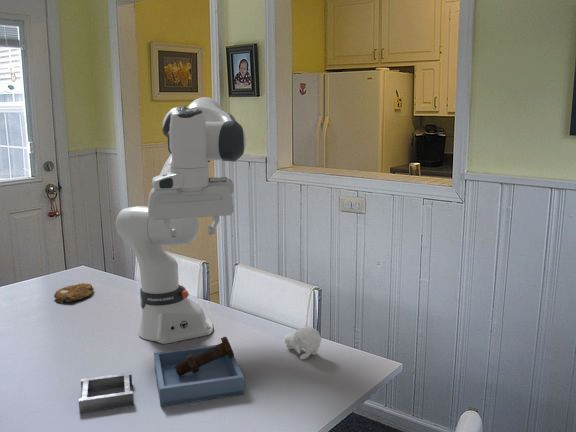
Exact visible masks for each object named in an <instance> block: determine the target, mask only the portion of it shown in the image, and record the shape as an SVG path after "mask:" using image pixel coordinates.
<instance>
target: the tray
mask: <svg viewBox="0 0 576 432" xmlns="http://www.w3.org/2000/svg"><path fill="white" fill-rule="evenodd" d="M216 345H217V344H214V345H212V344H211V345H206V346H205V345H204V346H198V347H197V346H196V347H190V348H181V349H173V350H165V351H164V350H163V351H158V352H153V362H154V363H153V366H154V373H155V379H156V380H155V381H156V386H157V387H156V388H157V392H158V399H159V405H160V408H161V407H167V406H173V405H174V406H175V405H181V404H187V403H194V402H200V401H201V402H202V401H206V400H207V401H208V400H213V399H221V398H227V397H228V398H229V397H233V396H240V395H244V394H245V377H244V374H243V372H242V370H241V367H240V366H239V363H238V361H237V360H236V357H235V356H234V357H232V358H230V359H229V357H228V355H226V356H223V357H221V358H220V357H219V358H218V359H216V360H213V361H211V362H210V363H207V364H205V365H202V366H200V367H199V371H198V372H196V373H192V371H190V372H188V373H185V374H184V375H182V376H179V375H178V374H177V373H176V370H177V369H175V366H176V365H177V364H178V363H181V362H183V361H186V360H187V359H186V357H187V356H188V355H190V354H193V355H194V356H195V355H196V356H197V355H198V354H200V353H203V352H205V351H206V350H209V349H211V348H212V347H215V346H216Z"/></svg>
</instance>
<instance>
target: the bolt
mask: <svg viewBox="0 0 576 432" xmlns="http://www.w3.org/2000/svg"><path fill="white" fill-rule="evenodd" d="M220 341H221V342H219V343H218V344H215V345H216V346H215V347H212V348H211V349H209V350H206V351H205V352H203V353H200V354H198V355H197V356H196V355H195V356H194V355H193V354H190V355H188V356H187V357H186V359H187V360H186V361H183V362H181V363H178V364H177V365H176V366H175V369H177V370H176V373H177V374H178V375H179V376H182V375H184V374H185V373H188V372H190V371H192V373H196V372H198V371H199V367H200V366H202V365H205V364H207V363H210V362H211V361H213V360H216V359H218V358H219V357H220V358H221V357H223V356H226V355H228V357H229V359H230V358H232V357H235V353H234V350H233V349H232V345H231V343H230V342H229V339H228V337H227V336H223V337H221V338H220Z"/></svg>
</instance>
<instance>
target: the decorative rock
mask: <svg viewBox="0 0 576 432" xmlns="http://www.w3.org/2000/svg"><path fill="white" fill-rule="evenodd" d="M94 291H95V288H94V287H93V285H92V284H91V283H84V282H82V283H78V284H74V285H73V284H72V285H67V286H64V287H63V288H59V289H58V290H56V291H55V293H54V295H53V297H54V298H55V301H56V303H57V304H58V303H61V304H63V303H64V302H66V303H72V302H75V301H80V300H81V299H85V298H87V297H89V296H91V295H92V293H93V292H94Z"/></svg>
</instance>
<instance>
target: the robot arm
mask: <svg viewBox="0 0 576 432" xmlns="http://www.w3.org/2000/svg"><path fill="white" fill-rule="evenodd" d="M162 133H163V135H164V136H165V137H166V138H167V151H168V152H169V153H170V155H169V157H168V158H167V159H166V161H165V163H164V165H163V167H162V169H161V171H160V173H159V175H156V176H154V177H152V180H151V185H152V188H151V189H150V192H149V194H148V199H147V206H146V205H145V206H144V205H143V206H142V205H136V206H129V207H125V208H123V209H121V210H120V211H119V212H118V215H117V216H116V220H115V229H116V232H117V235H118V236H119V237H120V238H121V239H122V240H124V241H125V242H126V243H127V244H128V246H129V247H130V249H131V250H132V252H133V253H134V255H135V257H136V260H137V263H138V267H139V273H140V275H139V276H140V285H141V288H140V290H139V291H140V292H139V301H140V308H141V319H140V325H139V329H138V335H139V337H140V338H142V339H144V340H147V341H153V342H157V343H159V344H163V345H165V344H170V343H176V342H180V341H185V340H191V339H195V338H199V337H204V336H208V335H211V334H212V333H213V331H214V326H213V323H212V320H210V319H209V317H207V316H206V315H205V311H204V310H203V307H202V306H201V305H200V304H199V303H197V302H195V301H194V300H192V299H191V298H188V297H189V291H188V290H186V287H184V285H183V284H181V285H180V284H179V265H178V262H177V260H176V259H175V258H174V256H172V255H171V254H169V253H168V252H167V251H166V249H164V247H163V246H173V247H174V246H176V247H177V246H183V245H190V244H192V243H193V242H194V241H195V240H196V239H197V237H198V234H199V231H200V223H199V220H198V218H208V217H211V218H212V220H213V222H212V223H211V225H208V226H207V229H208V230H207V233H208V235H211V236H212V235H216V227H217V226H218V224H219V222H220V217H223V216H225V217H227V216H232V214H233V213H234V212H235V207H234V206H235V205H234V199H233V194H234V190H235V188H234V187H235V186H234V182H233V180H232V179H230V178H228V177H227V176H222V177H210V169H209V168H210V167H209V163H210V162H211V161H224V162H236V161H237V160H239V159H240V158H241V157H242V156H243V155H244V153H245V151H246V145H247V144H246V142H247V141H246V140H247V139H246V133H245V131H244V128H243V126H242V124H240V123H239V122H238V121H237V120H236V118H235V117H234V116H233V115H232V114H230V113H229V112H226V111H224V110H222V107H221V105H220V104H219V102H218V101H216V100H215V99H214V98H211V97H207V96H203V97H198V98H197V99H194V100H193V101H191V102H190V103H189V105H188V106H186V105H183V106H175V107H172V108H171V109H170V110H169V111H168V112H167V113H166V114H165V115H164V117H163V120H162Z"/></svg>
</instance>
